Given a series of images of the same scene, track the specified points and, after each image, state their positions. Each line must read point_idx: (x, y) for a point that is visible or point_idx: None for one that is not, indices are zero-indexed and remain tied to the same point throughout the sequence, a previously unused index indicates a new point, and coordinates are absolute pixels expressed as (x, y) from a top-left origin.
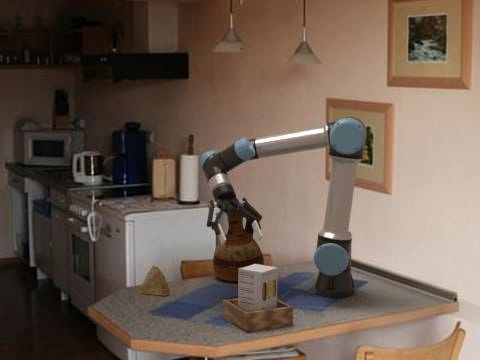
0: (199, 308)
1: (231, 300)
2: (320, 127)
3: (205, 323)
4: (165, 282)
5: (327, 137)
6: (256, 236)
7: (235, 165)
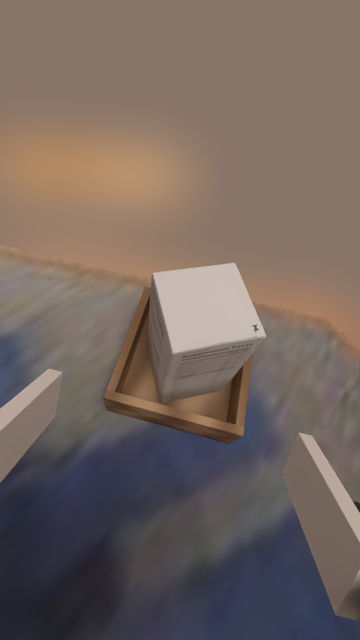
0: (232, 583)
1: (223, 421)
2: None
3: (284, 438)
4: None
5: None
6: (40, 433)
7: None
